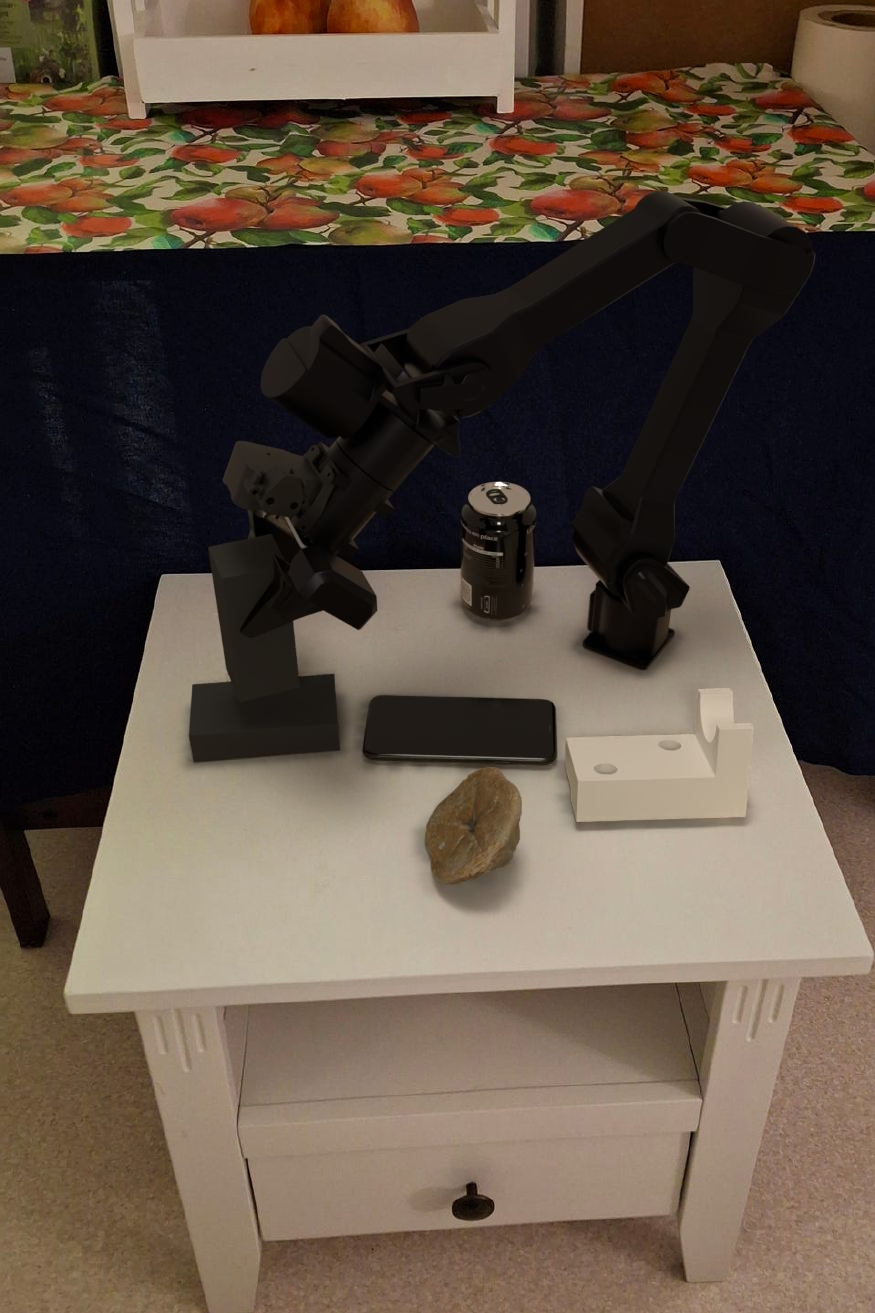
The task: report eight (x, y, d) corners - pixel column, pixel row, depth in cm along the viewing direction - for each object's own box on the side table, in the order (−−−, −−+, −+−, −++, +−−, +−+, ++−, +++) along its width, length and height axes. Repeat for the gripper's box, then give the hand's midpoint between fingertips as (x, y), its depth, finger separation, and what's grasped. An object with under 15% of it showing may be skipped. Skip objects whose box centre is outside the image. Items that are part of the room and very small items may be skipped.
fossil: (487, 744, 93) (529, 815, 84) (525, 773, 95) (569, 845, 86) (408, 826, 94) (440, 904, 85) (446, 853, 96) (482, 932, 87)
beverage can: (513, 579, 120) (517, 472, 112) (544, 617, 115) (550, 508, 107) (449, 595, 118) (449, 487, 110) (478, 634, 113) (480, 524, 105)
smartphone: (360, 763, 99) (557, 769, 99) (360, 755, 99) (558, 761, 98) (370, 700, 106) (555, 705, 105) (369, 692, 105) (556, 697, 104)
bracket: (722, 771, 100) (730, 688, 97) (745, 816, 93) (754, 728, 90) (564, 776, 100) (567, 692, 97) (576, 821, 93) (579, 733, 90)
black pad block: (285, 655, 101) (271, 533, 94) (300, 687, 98) (287, 564, 90) (226, 669, 100) (207, 546, 92) (239, 702, 96) (221, 578, 89)
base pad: (336, 699, 106) (334, 673, 104) (340, 750, 101) (338, 723, 99) (196, 710, 105) (192, 683, 103) (193, 762, 100) (188, 735, 98)
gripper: (252, 355, 92) (129, 509, 96) (323, 472, 79) (178, 645, 82) (356, 430, 99) (238, 570, 103) (438, 548, 86) (299, 705, 90)
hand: (237, 617), depth 94 cm, fingers closed on black pad block, 4 cm apart
